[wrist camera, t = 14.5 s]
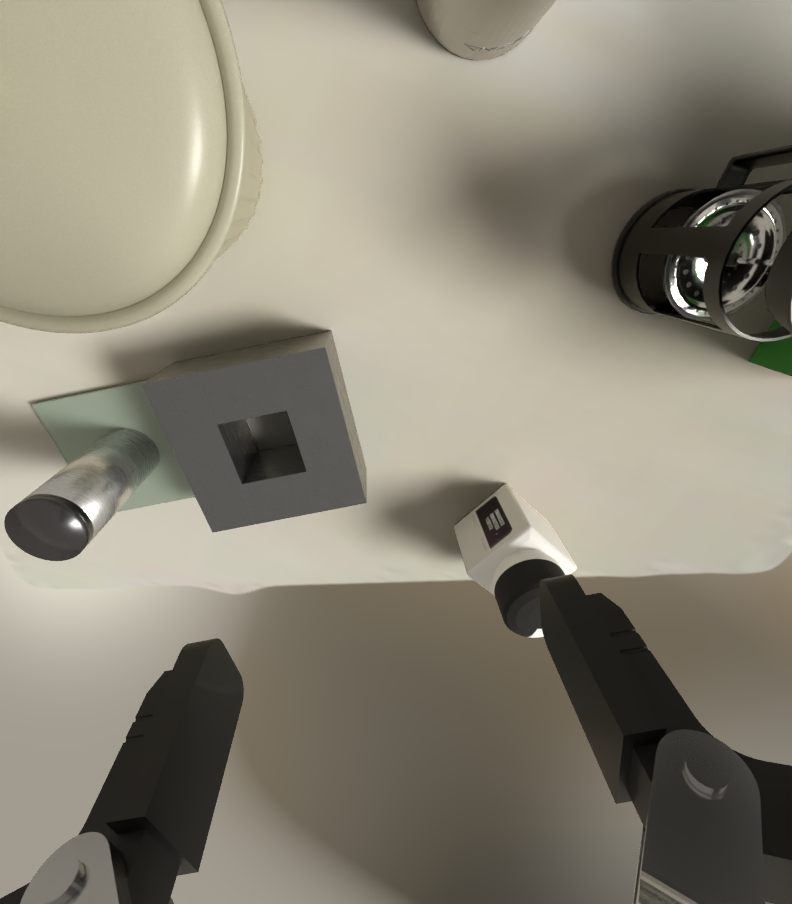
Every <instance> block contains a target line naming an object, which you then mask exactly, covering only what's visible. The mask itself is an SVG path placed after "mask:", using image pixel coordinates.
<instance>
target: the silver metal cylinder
mask: <svg viewBox="0 0 792 904" xmlns="http://www.w3.org/2000/svg"><path fill="white" fill-rule="evenodd" d="M159 460H160V455H159V450H158V448H157V446H156V444H155V443H154V442H153V441H152V440H151V439H150V438H149V437H148V436H147V435H145V434H144V433H142V432H140V431H138V430H134V429H130V428H119V429H115V430H113V431H111V432H109V433H108V434H107V435H105V436H104V437H103V438H102V439H100V440H99V441H98V442H96V443H95V444H94V445H93V446H91V447H90V448H89V449H87V450H86V451H85V452H84V453H82V454H81V455H80V456H78V457H77V458H76V459H75V460H73V461H72V462H71V463H69V464H68V465H67V466H66V467H64V468H63V469H62V470H60V471H59V472H58V473H57V474H55V475H54V476H53V477H51V478H50V479H49V480H48V481H46V482H45V483H44V484H42V485H41V486H40V487H39V488H37V489H36V490H35V491H33V492H32V493H31V494H30V495H28V496H27V497H26V498H25V499H23V500H22V501H21V502H19V503H18V504H17V505H16V506H14V507H13V508H12V509H11V510H9V512H8V513H7V515H6V517H5V529H6V532H7V534H8V536H9V537H10V539H11V540H12V541H13V542H14V543H15V544H16V545H17V546H18V547H19V548H20V549H22V550H23V551H25V552H26V553H28V554H30V555H32V556H35V557H38V558H41V559H45V560H50V561H63V560H68V559H71V558H74V557H75V556H77V555H78V554H80V553H81V551H82V550H83V549H84V548H85V547H86V546H87V545H88V544H89V542H90V541H91V540H92V539H93V538H94V537H95V536H96V535H97V534H98V532H99V531H100V530H101V529H102V528H103V527H104V526H105V525H106V523H107V522H108V521H109V520H110V519H111V518H112V517H113V516H114V514H115V513H116V512H117V511H118V510H119V509H120V508H121V507H122V506H123V504H124V503H125V502H126V501H127V500H128V499H129V498H130V497H131V495H132V494H133V493H134V492H135V491H136V490H137V489H138V488H139V486H140V485H141V484H142V483H143V482H144V481H145V480H146V479H147V477H148V476H149V475H150V474H151V473H152V472H153V471H154V470H155V469H156V467H157V466H158V464H159Z"/></svg>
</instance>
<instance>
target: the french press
mask: <svg viewBox="0 0 792 904" xmlns="http://www.w3.org/2000/svg"><path fill="white" fill-rule="evenodd" d="M786 163H792V145H789V146H785V147H780V148H775V149H770V150H765V151H760V152H755V153H751V154H746V155H741V156H736V157H733V158H732V159H731V160H730V161H729V163H728V165H727V167H726V168H725V170H724V172H723V174H722V176H721V178H720V180H719V182H718V184H717V186H716V188H714V189H701V190H697V189H692V188H690V189H677V190H673V191H669V192H666V193H664V194H662V195H660V196H657V197H655V198H654V199H652V200H651V201H650V202H648V203H647V204H645V205H644V206H643V207H642V208H641V209H640V210H639V211H638V212H637V213H636V214H635V215H634V216H633V217H632V218H631V219H630V221H629V222H628V223H627V225H626V226H625V228H624V230H623V231H622V233H621V235H620V237H619V239H618V242H617V245H616V247H615V250H614V255H613V260H612V278H613V283H614V287H615V289H616V291H617V293H618V295H619V297H620V298H621V299H622V300H623V302H624V303H625V304H627V305H628V306H629V307H630V308H632V309H634V310H636V311H639V312H642V313H647V314H659V315H663V316H667V317H670V318H674V319H677V320H681V321H685V322H688V323H692V324H695V325H699V326H702V327H706V328H710V329H713V330H717V331H720V332H724V333H728V334H731V335H735V336H738V337H742V338H746V339H749V340H755V341H761V342H764V341H777V340H781V339H785V338H789V337H792V232H791V233H790V234H789V236H788V237H787V224H786V220H785V216H784V213H783V211H782V209H781V207H780V205H779V203H778V202H777V201H776V200H775V198H776V197H778V196H779V195H781V194H790V193H792V179H789V180H781V181H773V182H765V183H757V184H749V185H744V183H745V181H746V179H747V177H748V175H749V173H750V172H751V171H752V170H753V169H755V168H762V167H768V166H774V165H780V164H786ZM679 207H686V208H691V209H694V210H696V211H695V212H694V213H693V214H692V215H691V216H690V217H688V218H687V219H686V220H685V222H684V223H683V224H682V225H681V226H680V227H660V228H654V227H655V225H656V224H657V223H658V222H659V220H660V219H661V218H662V217H663V216H664V215H665V214H666V213H667V212H668V211H669V210H672V209H675V208H679ZM641 253H647V254H660V255H665V257H664V262H663V270H662V280H663V287H664V291H665V294H666V296H667V298H662V299H654V298H650V297H647V296H645V295H644V294H643V293H642V290H641V288H640V283H639V262H640V257H641ZM764 288H766V290H765V298H766V303H767V307H768V310H769V311H770V312H771V314H772V315H773V316H774V317H775V318H776V320H777V321H778V322H779V323H780V324H781V325H782V327H779V328H777V329H775V330H772V331H768V332H764V333H760V334H744V333H742V332H740V331H739V330H738V329H737V328H736V327H734V326H733V325H732V323H731V322H730V320H729V319H728V317H727V316H729V315H731V314H733V313H735V312H737V311H738V310H740V309H742V308H743V307H745V306H746V305H747V304H749V303H750V302H751V301H752V300H753V299H755V298H756V297H757V296H758V295H759V294H760V292H761V291H762V290H763V289H764ZM686 317H687V318H686ZM697 320H698V321H697ZM712 320H713V321H714V323H715V324H716V325H717V326H716V325H712V324H709V323H705V322H701V321H712Z"/></svg>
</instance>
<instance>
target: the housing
mask: <svg viewBox="0 0 792 904" xmlns="http://www.w3.org/2000/svg"><path fill="white" fill-rule="evenodd" d="M141 386H142V388H143V390H144V392H145V394H146V396H147V398H148V400H149V402H150V404H151V407H152V409H153V411H154V413H155V415H156V417H157V419H158V421H159V423H160V425H161V427H162V429H163V431H164V433H165V435H166V437H167V439H168V441H169V444H170V446H171V448H172V450H173V452H174V454H175V456H176V458H177V460H178V462H179V464H180V466H181V468H182V470H183V472H184V474H185V476H186V478H187V481H188V483H189V485H190V487H191V489H192V491H193V493H194V495H195V497H196V499H197V501H198V503H199V505H200V507H201V509H202V511H203V513H204V515H205V518H206V520H207V522H208V524H209V526H210V528H211V530H212V532H218V531H223V530H228V529H233V528H238V527H244V526H249V525H254V524H259V523H264V522H270V521H275V520H280V519H285V518H290V517H296V516H301V515H306V514H311V513H316V512H322V511H327V510H332V509H337V508H342V507H348V506H353V505H358V504H363V503H366V466H365V462H364V458H363V454H362V450H361V446H360V442H359V439H358V435H357V431H356V427H355V423H354V419H353V415H352V411H351V407H350V403H349V399H348V395H347V391H346V387H345V383H344V379H343V375H342V371H341V367H340V363H339V359H338V355H337V351H336V347H335V344H334V340H333V336H332V332H331V331H326V332H321V333H316V334H311V335H306V336H302V337H297V338H292V339H287V340H282V341H277V342H272V343H267V344H262V345H257V346H253V347H248V348H243V349H238V350H233V351H228V352H223V353H218V354H213V355H209V356H204V357H199V358H194V359H189V360H184V361H179V362H174V363H172V364H171V365H169V366H168V367H166V368H165V369H163V370H162V371H160V372H159V373H157V374H156V375H154V376H153V377H151V378H150V379H148V380H147V381H145V382H144V383H143V384H141ZM283 411H287V413H288V416H289V419H290V422H291V425H292V428H293V431H294V434H295V437H296V440H297V443H298V444H295V445H290V446H285V447H280V448H275V449H270V450H265V451H259V452H258V451H257V448H256V445H255V443H254V440H253V438H252V435H251V432H250V430H249V427H248V424H247V422H246V419H248V418H253V417H258V416H263V415H268V414H273V413H278V412H283Z"/></svg>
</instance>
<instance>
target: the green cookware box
mask: <svg viewBox="0 0 792 904" xmlns="http://www.w3.org/2000/svg"><path fill="white" fill-rule="evenodd" d="M779 327H782V325H781V324H780V323H779V322H778V321H777V320H776V319H775V321H774V322H773V324H772V326H771V327H770V329H769V330H768V331H772V330H775V329H777V328H779ZM749 362H752V363H755V364H758V365H761V366H763V367H766V368H769V369H772V370H775V371H778V372H781V373H784V374H787V375H790V376H792V337H789V338H785V339H781V340H777V341H764V342H761V343H760V344H759V346H758V347H757V349H756V351H755V352H754V354H753V355H752V357H751V358H750V360H749Z"/></svg>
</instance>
